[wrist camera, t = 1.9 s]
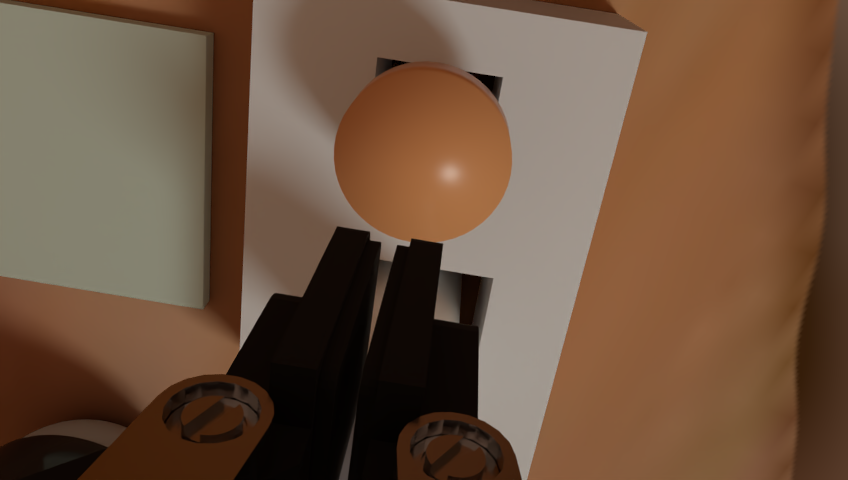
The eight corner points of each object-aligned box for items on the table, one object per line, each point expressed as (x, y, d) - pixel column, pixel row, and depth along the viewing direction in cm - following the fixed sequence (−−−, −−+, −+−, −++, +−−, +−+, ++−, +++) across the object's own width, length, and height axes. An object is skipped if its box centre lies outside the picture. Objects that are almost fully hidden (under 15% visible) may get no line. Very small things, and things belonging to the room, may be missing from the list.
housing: (519, 407, 33) (525, 483, 28) (270, 365, 33) (236, 435, 28) (617, 13, 25) (647, 32, 21) (294, -38, 26) (254, -31, 21)
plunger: (491, 186, 26) (494, 255, 20) (359, 165, 26) (326, 228, 20) (518, 51, 24) (528, 87, 18) (374, 27, 24) (342, 57, 18)
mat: (209, 300, 32) (203, 309, 31) (-5, 265, 32) (-16, 273, 31) (213, 33, 27) (206, 35, 26) (-40, -8, 27) (-54, -6, 26)
